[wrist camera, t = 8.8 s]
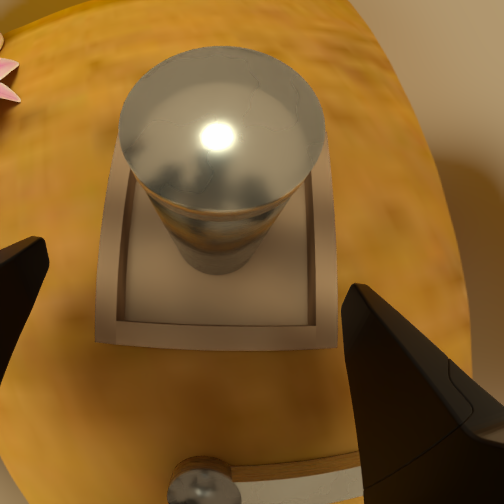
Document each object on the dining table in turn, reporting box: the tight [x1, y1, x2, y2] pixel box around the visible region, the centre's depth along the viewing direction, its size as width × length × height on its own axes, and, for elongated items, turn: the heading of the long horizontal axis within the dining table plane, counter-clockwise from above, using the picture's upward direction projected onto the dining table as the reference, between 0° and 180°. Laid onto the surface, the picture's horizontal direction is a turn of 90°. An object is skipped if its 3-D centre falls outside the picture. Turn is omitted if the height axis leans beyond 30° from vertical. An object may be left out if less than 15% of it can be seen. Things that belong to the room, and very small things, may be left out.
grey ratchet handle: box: [167, 451, 364, 504], centre depth 14 cm, size 14×4×2 cm, turn 90°
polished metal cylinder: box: [119, 46, 325, 275], centre depth 12 cm, size 5×5×11 cm
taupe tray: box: [95, 132, 338, 351], centre depth 17 cm, size 12×12×2 cm
